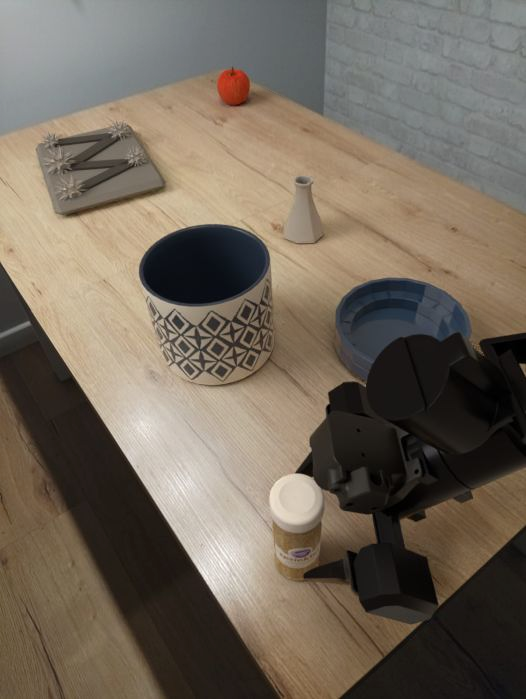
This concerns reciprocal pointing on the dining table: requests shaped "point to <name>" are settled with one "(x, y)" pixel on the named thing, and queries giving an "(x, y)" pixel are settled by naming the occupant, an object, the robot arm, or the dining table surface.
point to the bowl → (392, 318)
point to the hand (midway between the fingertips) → (301, 523)
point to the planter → (210, 302)
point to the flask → (303, 214)
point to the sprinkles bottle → (296, 524)
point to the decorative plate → (96, 168)
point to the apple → (233, 86)
